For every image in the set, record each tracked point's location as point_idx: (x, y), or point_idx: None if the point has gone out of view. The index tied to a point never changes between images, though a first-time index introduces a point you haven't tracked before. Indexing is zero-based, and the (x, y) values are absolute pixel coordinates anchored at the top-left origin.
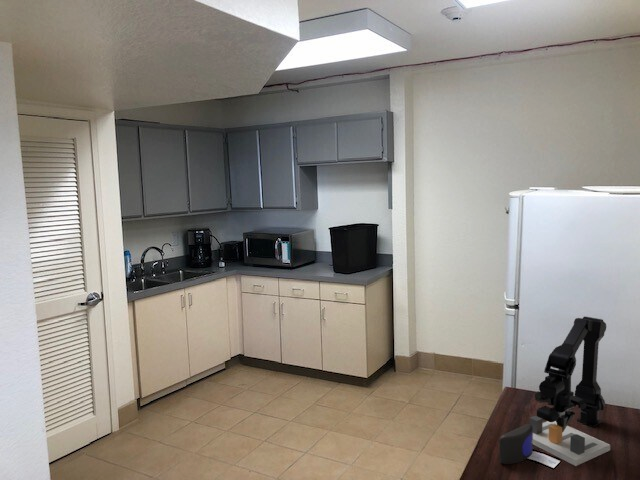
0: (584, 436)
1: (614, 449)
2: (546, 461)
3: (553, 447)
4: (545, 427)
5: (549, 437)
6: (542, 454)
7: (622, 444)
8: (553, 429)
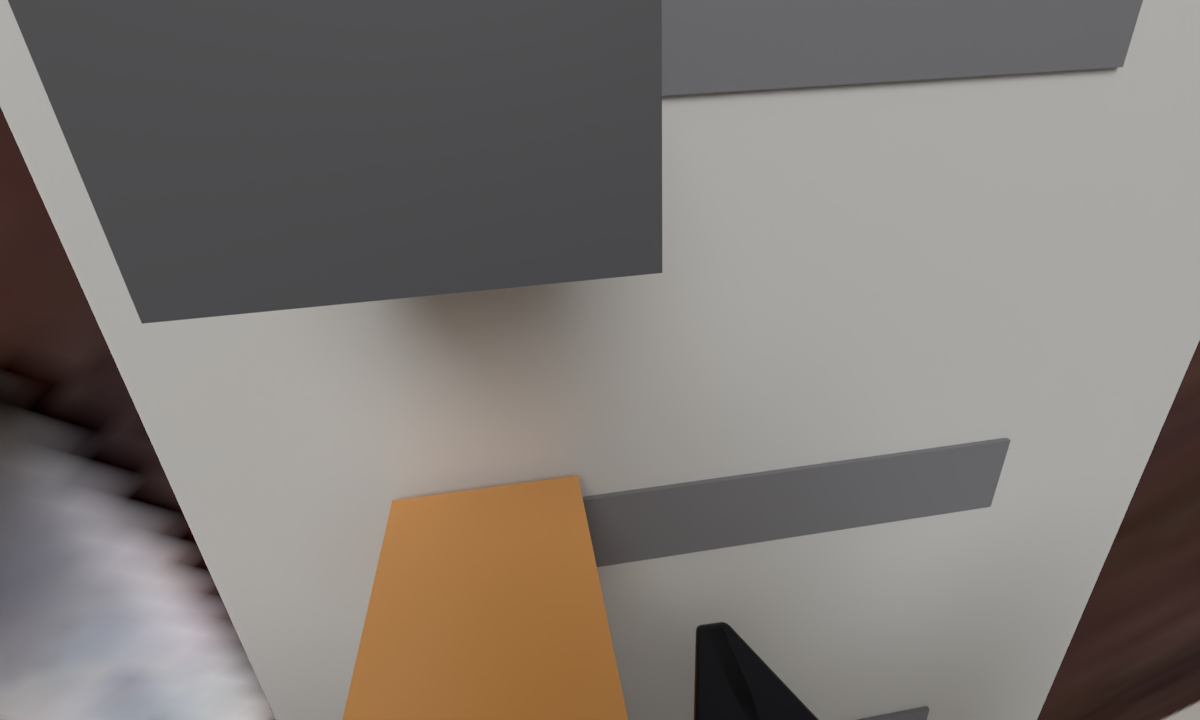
0: (1022, 575)
1: None
2: (61, 695)
3: (304, 663)
4: (850, 11)
5: (387, 564)
6: (123, 559)
7: (1167, 661)
8: None
